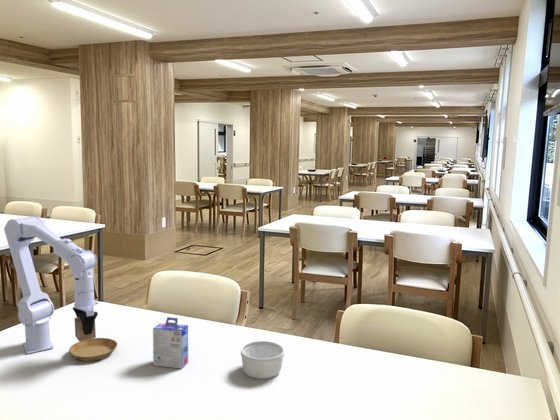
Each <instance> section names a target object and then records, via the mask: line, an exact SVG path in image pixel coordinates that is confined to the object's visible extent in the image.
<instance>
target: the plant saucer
mask: <svg viewBox="0 0 560 420" xmlns="http://www.w3.org/2000/svg"><path fill="white" fill-rule="evenodd" d="M117 348H118V342H117V341H116V340H115V339H112V338H107V337H96V338H92V339H88V340H83V341H77V342H75V343H74V344H72V345H71V346H70V347H69V349H68V352H69V354H70V355H71V356H72V357H74V358H75V359H77V360H79V361H83V362H93V361H94V362H95V361H100V360H103V359H105V358H106V357H109V356H110V355H111V354H112V353H113V352H114V351H115V350H116V349H117Z"/></svg>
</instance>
